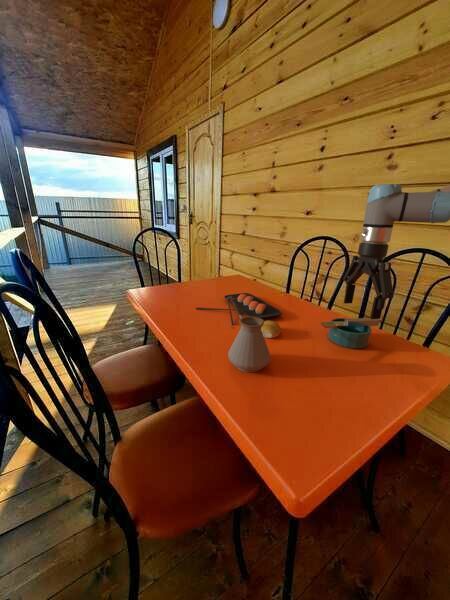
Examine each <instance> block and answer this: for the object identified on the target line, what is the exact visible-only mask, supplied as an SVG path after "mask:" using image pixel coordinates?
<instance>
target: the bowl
mask: <svg viewBox="0 0 450 600" xmlns="http://www.w3.org/2000/svg"><path fill="white" fill-rule="evenodd" d="M345 319H348V318H347V317H336V318H332V319H331V320H330V321H329V322H338V321H343V322H344V320H345ZM371 335H372V328H371V326H357V327H348V328H327V339H329V340H330V341H331V342H332V343H335V344H336V345H338V346H340V347H344V348H347V349H354V350H355V349H363V348H367V347H368V345H369V342H370V339H371Z"/></svg>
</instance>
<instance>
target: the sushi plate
mask: <svg viewBox="0 0 450 600" xmlns="http://www.w3.org/2000/svg"><path fill="white" fill-rule="evenodd" d="M230 296H233V299H234V300H235V303H236V304H237V305H238V307H239V310H240V312H242V313H244V314H245V315H246V316H247V317H248V316H251V317H257V318H261V319H267V318H273V317H278V316H281V315H283V312H282V311H281V310H280V309H279V308H277V307H275V306H273V305H271V304H269V303H268V302H266V301H264V300H262V299H261V298H259V297H258V296H255V295H254V294H252V293H249V292H242V293H231V294H225V295H224V296H223V297H224V299H225V300H226V301H227V304H228V308H215V307H214V308H212V307H195V309H196V310H204V311H205V310H208V311H229V316H230V322H231V326H234V319H233V314H232V311H233V312H234V311H235V312H236V310H235V308H233V309H231V306H230V304H231V305H233V303H232V302H231V301H228V300H231V299H230ZM228 297H229V298H228ZM227 298H228V300H227Z"/></svg>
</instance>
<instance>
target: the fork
mask: <svg viewBox="0 0 450 600" xmlns="http://www.w3.org/2000/svg"><path fill="white" fill-rule="evenodd" d="M380 321H381V320H380V319H370V317H359V318H355V317H354V318H347V319H345V320H344V322H343V321H338V322H330V321H321V322H320V325H321V326H322V327H323V328H324V329H329V328H348V327H357V326H370V327H378V326H379V325H380Z"/></svg>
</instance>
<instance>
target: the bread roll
mask: <svg viewBox="0 0 450 600" xmlns="http://www.w3.org/2000/svg"><path fill="white" fill-rule="evenodd" d="M261 331H262V333H263V336H264V339H275V338H277V337H278V336H280V334H281V332H282V327H281V326H280V324H278V323H277V322H276V321H273V320H264V325H263V326H262V327H261Z"/></svg>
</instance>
